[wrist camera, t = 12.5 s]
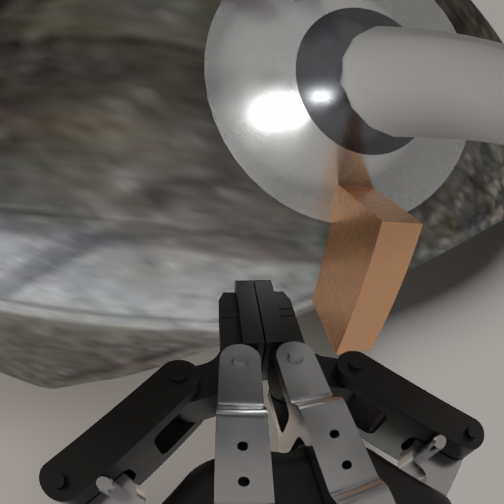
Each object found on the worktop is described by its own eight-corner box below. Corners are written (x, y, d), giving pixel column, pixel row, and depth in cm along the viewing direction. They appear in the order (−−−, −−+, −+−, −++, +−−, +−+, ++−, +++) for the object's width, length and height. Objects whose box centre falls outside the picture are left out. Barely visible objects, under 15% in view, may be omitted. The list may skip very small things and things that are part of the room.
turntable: (201, 286, 20) (200, 364, 14) (220, -60, 8) (227, -123, 2) (408, 279, 23) (450, 331, 17) (458, 16, 11) (524, 14, 5)
